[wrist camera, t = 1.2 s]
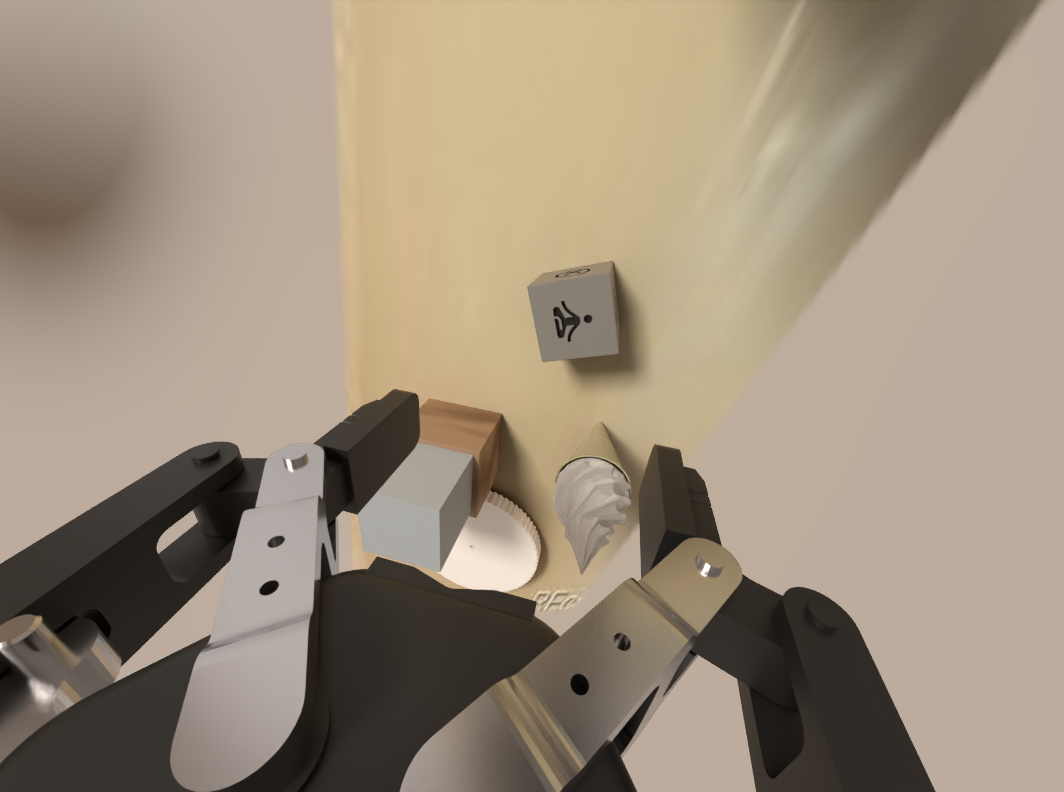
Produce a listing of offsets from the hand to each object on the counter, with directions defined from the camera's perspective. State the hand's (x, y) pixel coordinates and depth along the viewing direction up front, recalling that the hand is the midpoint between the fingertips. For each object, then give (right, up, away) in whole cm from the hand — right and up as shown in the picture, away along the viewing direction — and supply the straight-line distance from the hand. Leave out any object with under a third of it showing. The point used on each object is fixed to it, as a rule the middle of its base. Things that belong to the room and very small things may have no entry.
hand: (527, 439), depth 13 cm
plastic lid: (-5, -13, +29) cm, 33 cm away
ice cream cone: (+6, -1, +20) cm, 21 cm away
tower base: (-6, -2, +24) cm, 24 cm away
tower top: (-8, -5, +18) cm, 21 cm away
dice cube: (+4, +8, +15) cm, 18 cm away
